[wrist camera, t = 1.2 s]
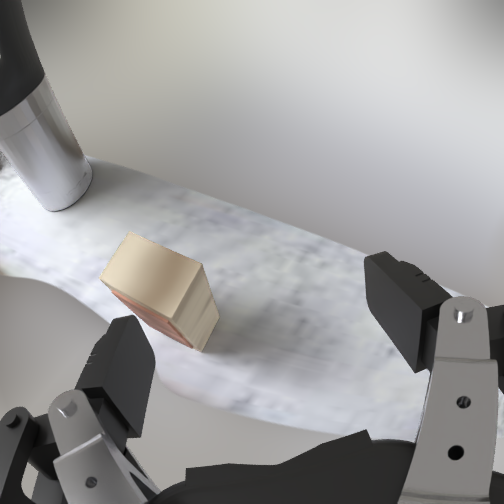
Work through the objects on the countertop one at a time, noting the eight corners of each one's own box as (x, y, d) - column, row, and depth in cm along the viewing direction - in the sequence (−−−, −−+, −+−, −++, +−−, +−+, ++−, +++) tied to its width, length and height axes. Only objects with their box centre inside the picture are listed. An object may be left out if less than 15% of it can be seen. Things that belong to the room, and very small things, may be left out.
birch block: (148, 327, 30) (97, 280, 19) (168, 292, 32) (129, 231, 21) (200, 354, 29) (169, 321, 18) (219, 316, 31) (201, 263, 20)
